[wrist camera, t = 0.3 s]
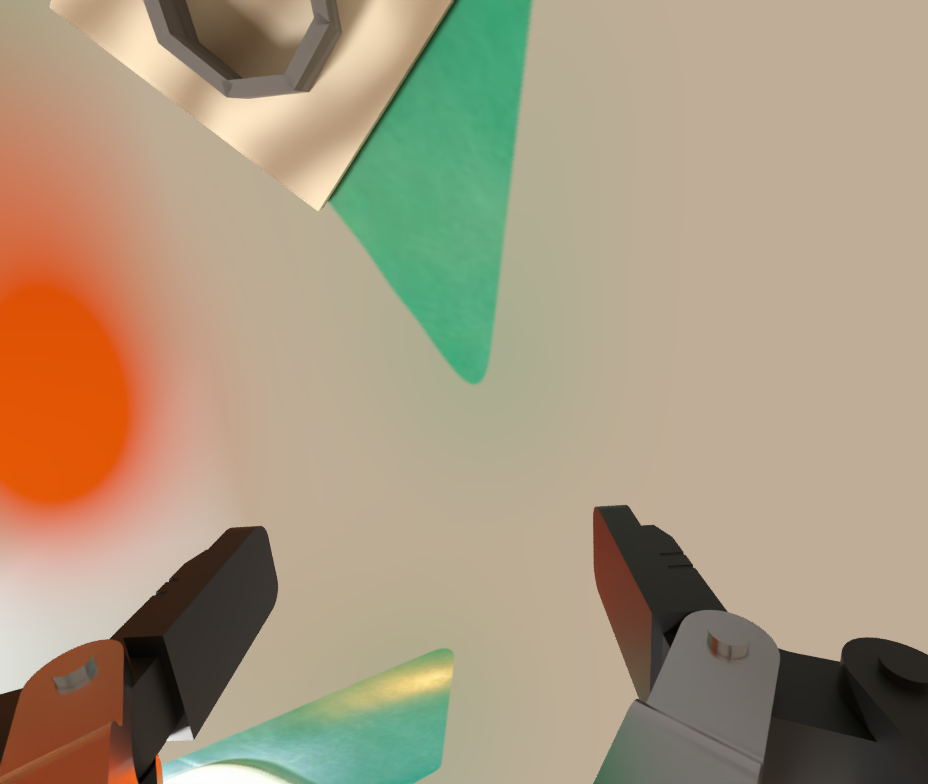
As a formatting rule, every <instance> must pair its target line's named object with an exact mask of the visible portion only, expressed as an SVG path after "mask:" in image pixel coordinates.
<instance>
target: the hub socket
mask: <svg viewBox="0 0 928 784" xmlns="http://www.w3.org/2000/svg"><path fill="white" fill-rule="evenodd" d="M454 1H455V0H51V3H50V8H51V9H52V10H54V11H55V12H56V13H57V14H59V15H60V16H61V17H63V18H64V19H65V20H67V21H68V22H69V23H71V24H72V25H73V26H74V27H76V28H77V29H79V30H80V31H81V32H82V33H84V34H85V35H86V36H88V37H89V38H90V39H92V40H93V41H94V42H96V43H97V44H98V45H100V46H101V47H102V48H103V49H105V50H106V51H107V52H109V53H110V54H111V55H113V56H114V57H115V58H117V59H118V60H119V61H121V62H122V63H123V64H125V65H126V66H127V67H128V68H130V69H131V70H132V71H134V72H135V73H136V74H138V75H139V76H140V77H142V78H143V79H144V80H146V81H147V82H149V83H150V84H151V85H152V86H153V87H155V88H156V89H157V90H159V91H160V92H161V93H163V94H164V95H165V96H167V97H168V98H169V99H171V100H172V101H173V102H175V103H176V104H177V105H178V106H180V107H181V108H182V109H184V110H185V111H186V112H188V113H189V114H190V115H192V116H193V117H194V118H196V119H197V120H198V121H200V122H201V123H202V124H204V125H205V126H206V127H208V128H209V129H210V130H212V131H213V132H214V133H215V134H217V135H218V136H219V137H221V138H222V139H223V140H225V141H226V142H227V143H229V144H230V145H231V146H232V147H234V148H235V149H236V150H238V151H239V152H240V153H242V154H243V155H244V156H246V157H247V158H248V159H250V160H251V161H252V162H254V163H255V164H256V165H258V166H259V167H260V168H261V169H263V170H264V171H265V172H267V173H268V174H270V175H271V176H272V177H273V178H275V179H276V180H277V181H279V182H280V183H281V184H283V185H284V186H285V187H286V188H288V189H289V190H290V191H292V192H293V193H294V194H296V195H297V196H298V197H300V198H301V199H302V200H304V201H305V202H306V203H308V204H309V205H310V206H312V207H313V208H314V209H315V210H317V211H318V212H319V211H320V210H321V209H322V208H323V207H324V206H325V204H326V203H327V201H328V199H329V198H330V196H331V195H332V193H333V192H334V190H335V188H336V187H337V185H338V184H339V182H340V180H341V179H342V177H343V176H344V174H345V173H346V171H347V169H348V168H349V166H350V165H351V163H352V162H353V160H354V158H355V157H356V155H357V154H358V152H359V150H360V149H361V147H362V146H363V144H364V143H365V141H366V139H367V138H368V136H369V135H370V133H371V132H372V130H373V128H374V127H375V125H376V124H377V122H378V120H379V119H380V117H381V116H382V114H383V113H384V111H385V109H386V108H387V106H388V105H389V103H390V102H391V100H392V98H393V97H394V95H395V94H396V92H397V90H398V89H399V87H400V86H401V84H402V83H403V81H404V79H405V78H406V76H407V75H408V73H409V72H410V70H411V68H412V67H413V65H414V64H415V62H416V60H417V59H418V57H419V56H420V54H421V53H422V51H423V49H424V48H425V46H426V45H427V43H428V42H429V40H430V38H431V37H432V35H433V34H434V32H435V31H436V29H437V27H438V26H439V24H440V23H441V21H442V19H443V18H444V16H445V15H446V13H447V12H448V10H449V8H450V7H451V5H452V4H453V2H454Z"/></svg>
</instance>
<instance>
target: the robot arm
mask: <svg viewBox="0 0 928 784" xmlns="http://www.w3.org/2000/svg"><path fill="white" fill-rule="evenodd" d="M593 539H594V540H593V544H594V573H595V579H596V585H597V589H598V592H599V595H600V598H601V600H602V603H603V605H604V608H605V610H606V613H607V616H608V619H609V621H610V624H611V626H612V629H613V632H614V634H615V637H616V639H617V642H618V645H619V647H620V650H621V653H622V655H623V658H624V660H625V663H626V666H627V668H628V671H629V674H630V676H631V679H632V681H633V684H634V687H635V689H636V692H637V695H638V697H639V699H636V700H635V701H634V702H633V703H632V704H631V706H630V707H629V709H628V711H627V713H626V716H625V718H624V720H623V722H622V724H621V726H620V728H619V730H618V732H617V735H616V737H615V739H614V741H613V743H612V745H611V747H610V750H609V751H608V754H607V756H606V758H605V760H604V762H603V764H602V766H601V769H600V771H599V773H598V775H597V777H596V779H595V781H594V783H593V784H928V655H927V654H925V653H923V652H921V651H919V650H917V649H914V648H912V647H909V646H907V645H903V644H901V643H898V642H894V641H890V640H886V639H880V638H868V637H867V638H857V639H853V640H851V641H849V642H847V643H846V644H845V645H844V647H843V649H842V654H841V661H840V662H838V661H833V660H828V659H823V658H818V657H812V656H807V655H802V654H797V653H793V652H789V651H785V650H782V649H779V648H778V647H777V645H776V644H775V642H774V641H773V639H772V638H771V637H770V636H769V635H768V634H767V633H766V632H765V631H764V630H763V629H761V628H760V627H759V626H757V625H756V624H754V623H753V622H751V621H749V620H747V619H745V618H743V617H740V616H738V615H735V614H732V613H729V612H727V611H726V609H725V608H724V607H723V605H722V604H721V603H720V601H719V600H718V598H717V597H716V596H715V594H714V593H713V592H712V590H711V589H710V587H709V586H708V585H707V583H706V582H705V581H704V579H703V578H702V577H701V575H700V574H699V573H698V571H697V570H696V569H695V568H693V564H692V563H691V562H690V561H689V559H688V558H687V556H686V555H684V554H683V551H682V550H681V548H680V547H679V546H678V544H677V543H676V542H675V540H674V539H673V537H671V536H670V535H668V534H667V533H665V532H664V531H662V530H661V529H659V528H658V527H656V526H655V525H644V526H641V525H640V523H639V522H638V520H637V519H636V517H635V515H634V514H633V512H632V511H631V509H630V508H629V507H628V506H627V505H616V506H600V507H595V508H594V512H593ZM277 593H278V581H277V576H276V571H275V566H274V562H273V557H272V553H271V547H270V543H269V538H268V534H267V531H266V530H265V528H264V527H262V526H253V527H236V528H229V529H228V530H226V531H225V533H223V534H222V536H221V537H220V538H219V539H218V540H217V541H216V542H215V543H214V544H213V545H212V546H211V547H210V548H209V549H208V550H205V551H204V552H202V553H201V554H199V555H197V556H196V557H194V558H193V559H191V560H190V561H188V562H186V563H185V564H184V565H183V566H182V567H181V568H180V569H179V570H178V571H177V572H176V573H175V574H174V575H173V576H172V577H171V578H170V579H169V582H166V583H165V584H164V585H163V586H162V587H161V588H160V589H159V590H158V591H157V592H156V595H155V596H152V597H151V598H150V599H149V600H148V601H147V602H146V603H145V604H144V605H143V606H142V607H141V608H140V609H139V610H138V611H137V612H136V613H135V614H134V615H133V616H132V617H131V618H130V619H129V620H128V621H127V622H126V623H125V624H124V625H123V626H122V627H121V628H120V629H119V630H118V631H117V632H116V633H115V634H114V635H113V636H112V637H111V638H110V639H107V640H98V641H93V642H90V643H86V644H84V645H81V646H78V647H76V648H74V649H71V650H69V651H67V652H65V653H63V654H61V655H60V656H58V657H57V658H55V659H53V660H52V661H51V662H49V663H47V664H46V665H45V666H43V667H42V668H41V669H40V670H39V671H37V672H36V673H35V674H34V675H33V676H32V677H31V678H30V679H29V680H28V681H27V683H26V684H25V686H24V687H23V688H22V689H18V690H15V691H11V692H7V693H4V694H0V784H163V777H162V766H161V762H160V759H159V755H158V753H159V751H160V750H161V748H162V747H163V745H164V744H165V742H166V741H180V740H194V739H195V737H196V736H197V734H198V732H199V731H200V729H201V727H202V726H203V724H204V722H205V721H206V719H207V717H208V716H209V714H210V712H211V711H212V709H213V707H214V706H215V704H216V702H217V701H218V699H219V697H220V696H221V694H222V692H223V691H224V689H225V687H226V686H227V684H228V682H229V681H230V679H231V678H232V676H233V674H234V673H235V671H236V669H237V667H238V666H239V664H240V663H241V661H242V659H243V658H244V656H245V654H246V653H247V651H248V649H249V648H250V646H251V644H252V642H253V641H254V639H255V638H256V636H257V634H258V633H259V631H260V629H261V628H262V626H263V624H264V623H265V621H266V619H267V618H268V616H269V614H270V612H271V611H272V609H273V607H274V605H275V602H276V598H277Z"/></svg>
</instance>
